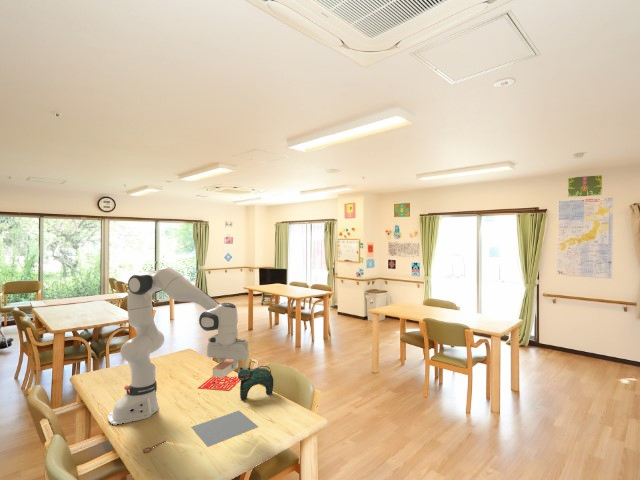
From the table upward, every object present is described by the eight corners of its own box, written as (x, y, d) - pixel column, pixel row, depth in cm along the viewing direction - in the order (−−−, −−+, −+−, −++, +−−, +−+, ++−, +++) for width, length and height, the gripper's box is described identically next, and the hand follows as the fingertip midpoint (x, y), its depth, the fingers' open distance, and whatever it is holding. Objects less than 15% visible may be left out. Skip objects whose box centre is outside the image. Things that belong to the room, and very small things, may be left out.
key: (172, 434, 153) (138, 450, 140) (172, 432, 153) (138, 448, 141) (180, 437, 149) (146, 454, 137) (180, 435, 149) (145, 451, 137)
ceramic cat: (238, 402, 182) (238, 364, 182) (236, 397, 188) (236, 361, 188) (274, 395, 190) (274, 359, 190) (271, 390, 196) (271, 356, 196)
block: (222, 369, 149) (238, 358, 163) (212, 367, 151) (229, 357, 164) (222, 378, 149) (238, 367, 163) (212, 376, 151) (229, 365, 164)
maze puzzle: (229, 391, 196) (229, 390, 196) (197, 389, 199) (197, 388, 199) (243, 378, 215) (243, 377, 215) (214, 376, 219) (214, 374, 219)
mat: (207, 448, 141) (207, 446, 141) (191, 428, 156) (191, 426, 156) (258, 428, 156) (258, 426, 156) (238, 411, 171) (238, 410, 171)
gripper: (251, 337, 159) (251, 367, 159) (212, 334, 164) (212, 363, 164) (244, 341, 153) (244, 372, 153) (205, 338, 158) (205, 368, 158)
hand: (227, 367), depth 158 cm, fingers closed on block, 5 cm apart
